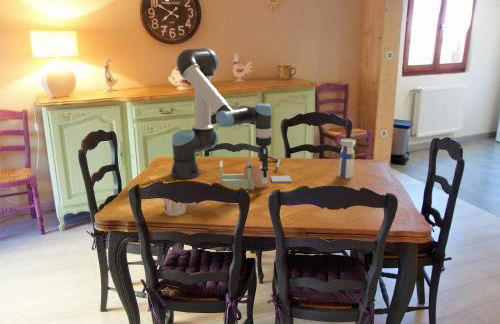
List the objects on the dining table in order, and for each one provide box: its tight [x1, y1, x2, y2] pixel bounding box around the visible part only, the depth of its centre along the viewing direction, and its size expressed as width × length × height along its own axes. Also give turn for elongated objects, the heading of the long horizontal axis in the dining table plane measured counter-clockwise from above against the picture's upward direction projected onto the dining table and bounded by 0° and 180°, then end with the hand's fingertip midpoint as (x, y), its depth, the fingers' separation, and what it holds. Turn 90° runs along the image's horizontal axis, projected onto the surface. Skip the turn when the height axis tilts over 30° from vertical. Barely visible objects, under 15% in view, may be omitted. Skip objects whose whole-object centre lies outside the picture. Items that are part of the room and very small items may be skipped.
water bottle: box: [337, 131, 357, 179], centre depth 214 cm, size 8×9×25 cm
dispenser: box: [219, 159, 255, 191], centre depth 201 cm, size 16×9×12 cm, turn 93°
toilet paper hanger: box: [267, 147, 281, 172], centre depth 236 cm, size 23×9×8 cm, turn 171°
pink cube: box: [243, 165, 270, 188], centre depth 202 cm, size 12×4×10 cm, turn 93°
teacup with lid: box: [163, 198, 187, 217], centre depth 171 cm, size 12×9×12 cm
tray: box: [270, 175, 293, 184], centre depth 212 cm, size 10×8×1 cm
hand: (263, 178), depth 202 cm, fingers open, 13 cm apart
